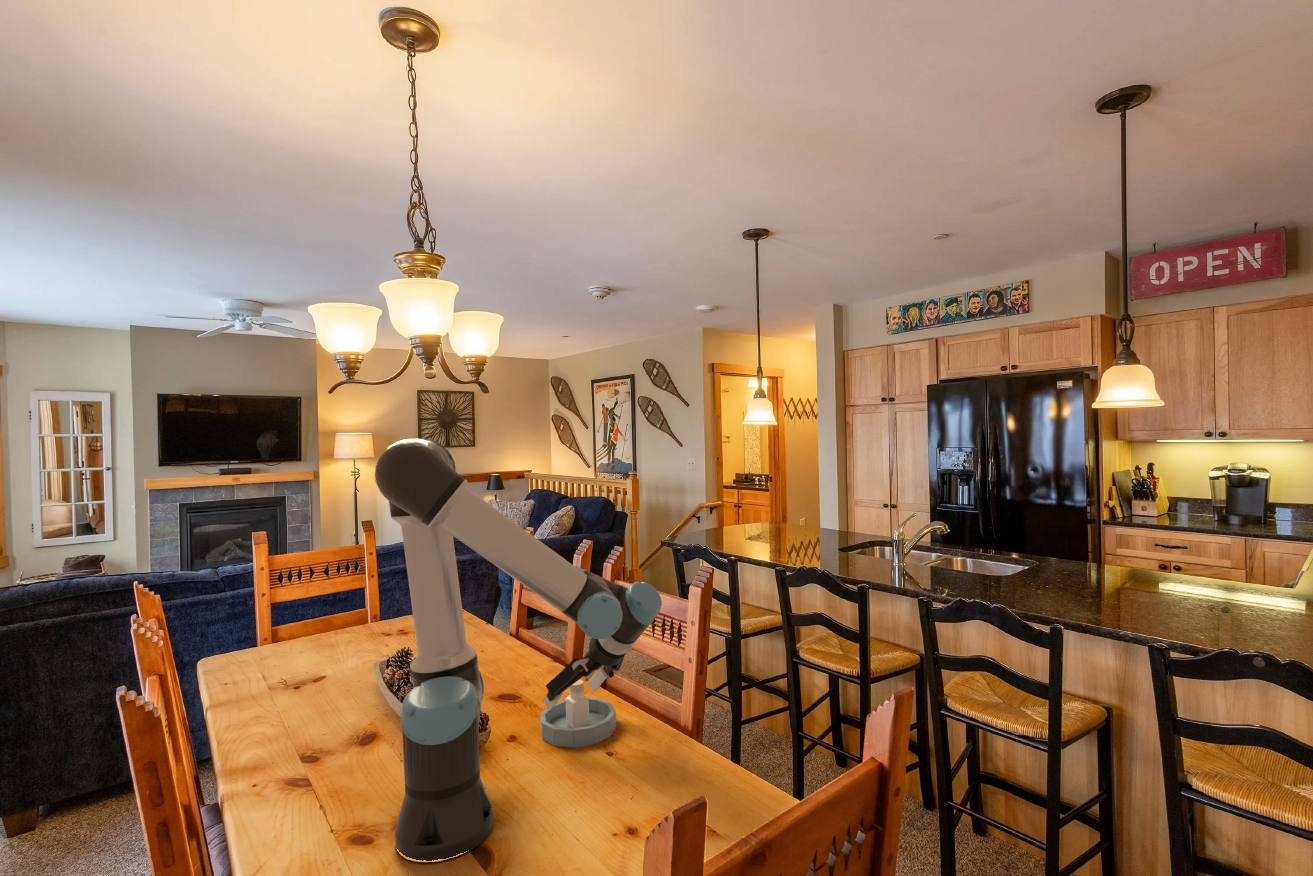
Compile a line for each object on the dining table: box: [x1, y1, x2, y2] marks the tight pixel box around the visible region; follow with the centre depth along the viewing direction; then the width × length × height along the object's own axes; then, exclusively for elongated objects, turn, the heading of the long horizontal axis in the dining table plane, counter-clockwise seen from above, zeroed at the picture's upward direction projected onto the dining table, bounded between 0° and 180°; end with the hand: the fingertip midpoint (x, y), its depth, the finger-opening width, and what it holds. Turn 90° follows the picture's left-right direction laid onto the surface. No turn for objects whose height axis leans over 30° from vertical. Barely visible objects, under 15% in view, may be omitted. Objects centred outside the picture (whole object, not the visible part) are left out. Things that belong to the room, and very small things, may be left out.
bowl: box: [539, 697, 617, 749], centre depth 137 cm, size 16×16×4 cm
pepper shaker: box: [564, 679, 590, 728], centre depth 137 cm, size 4×4×10 cm
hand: (569, 695), depth 139 cm, fingers open, 11 cm apart
